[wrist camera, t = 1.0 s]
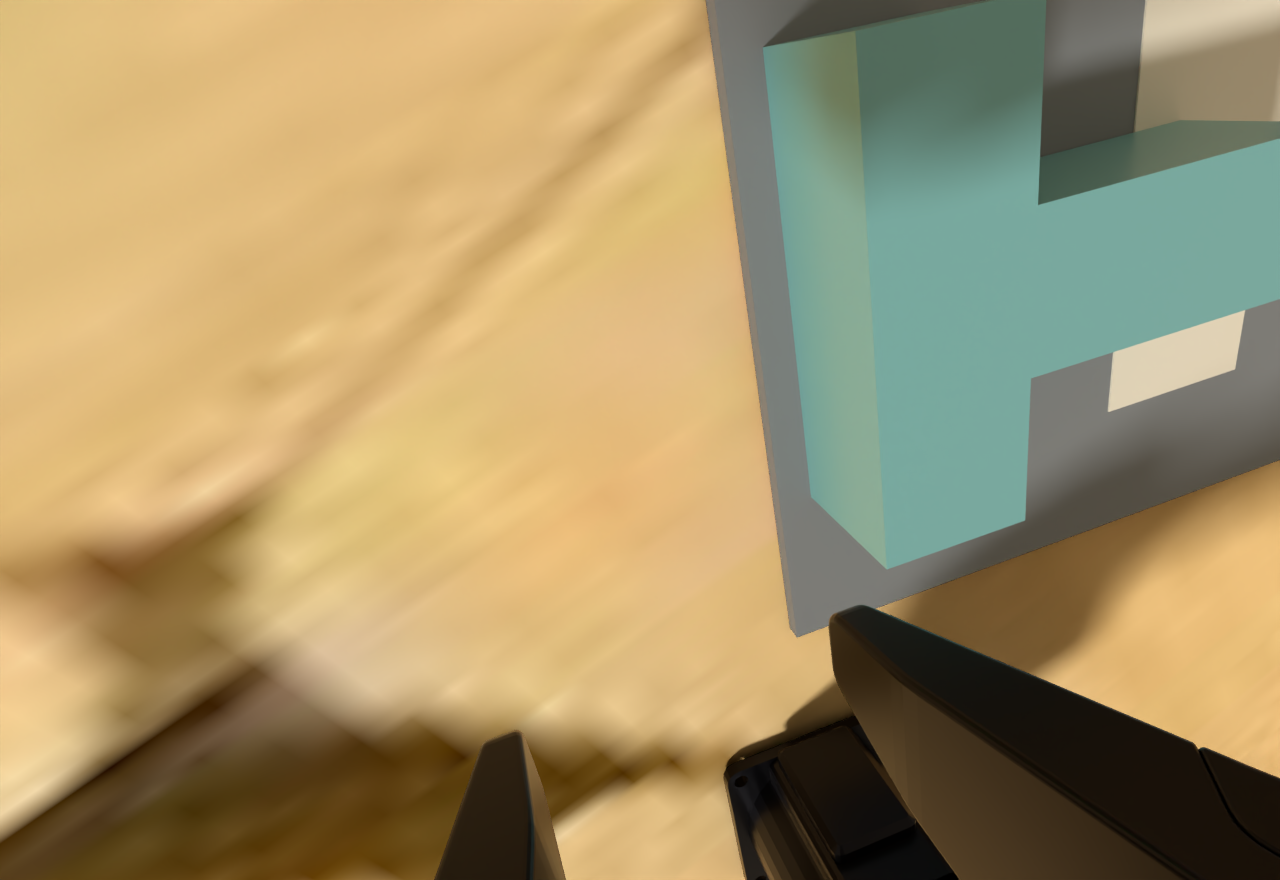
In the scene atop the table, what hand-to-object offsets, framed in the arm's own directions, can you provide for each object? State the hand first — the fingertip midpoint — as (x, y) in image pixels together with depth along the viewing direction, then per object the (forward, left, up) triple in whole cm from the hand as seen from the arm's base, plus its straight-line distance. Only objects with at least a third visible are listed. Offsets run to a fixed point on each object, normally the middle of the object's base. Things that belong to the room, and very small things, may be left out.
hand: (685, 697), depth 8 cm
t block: (0, -13, -12) cm, 17 cm away
